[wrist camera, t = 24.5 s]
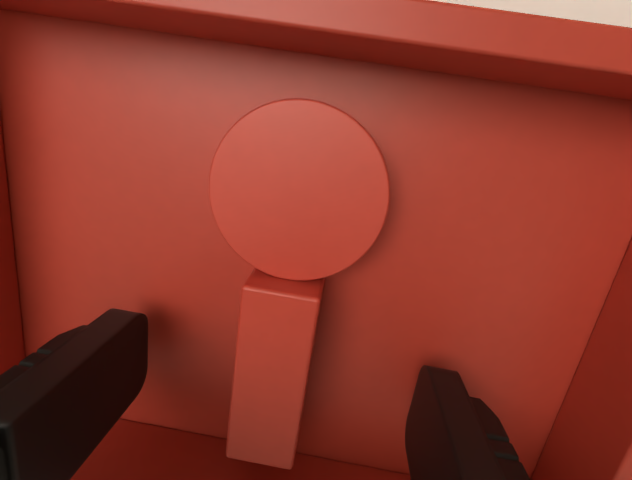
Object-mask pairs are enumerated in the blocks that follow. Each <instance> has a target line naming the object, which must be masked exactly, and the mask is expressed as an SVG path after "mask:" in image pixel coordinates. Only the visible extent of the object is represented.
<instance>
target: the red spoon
mask: <svg viewBox="0 0 632 480" xmlns="http://www.w3.org/2000/svg"><path fill="white" fill-rule="evenodd" d="M209 200H210V206H211V210H212V214H213V217H214V220H215V222H216V225H217V227H218V229H219V231H220V233H221V234H222V236H223V238H224V239H225V240H226V242H227V243H228V245H229V246H230V247H231V248H232V249H233V250H234V252H235V253H236V254H237V255H238V256H240V257H241V258H242V259H243V260H244V261H245V262H247V263H248V264H250V265H251V266H253V267H254V270H253V271H252V273H251V274H250V276H249V277H248V278H247V280H246V281H245V283H244V284H243V286H242V287H241V296H240V307H239V317H238V328H237V338H236V349H235V359H234V370H233V380H232V391H231V401H230V412H229V422H228V433H227V443H226V457H228V458H232V459H237V460H242V461H247V462H252V463H257V464H263V465H268V466H273V467H278V468H283V469H288V470H289V469H292V467H293V465H294V459H295V453H296V448H297V442H298V436H299V430H300V424H301V419H302V413H303V407H304V401H305V395H306V389H307V383H308V377H309V371H310V365H311V359H312V353H313V347H314V341H315V335H316V329H317V323H318V317H319V311H320V305H321V299H322V293H323V287H324V281H325V277H329V276H332V275H334V274H337V273H339V272H341V271H343V270H345V269H347V268H348V267H350V266H352V265H353V264H354V263H356V262H357V261H358V260H360V259H361V258H362V257H363V256H364V255H365V254H366V253H367V252H368V251H369V249H370V248H371V247H372V245H373V244H374V243H375V241H376V240H377V238H378V236H379V235H380V233H381V231H382V228H383V226H384V224H385V221H386V217H387V214H388V210H389V203H390V182H389V174H388V170H387V167H386V163H385V160H384V158H383V155H382V153H381V151H380V149H379V147H378V145H377V144H376V142H375V140H374V139H373V138H372V136H371V135H370V134H369V132H368V131H367V130H366V129H365V128H364V127H363V126H362V125H361V124H360V123H359V122H358V121H357V120H356V119H354V118H353V117H352V116H350V115H349V114H347V113H346V112H344V111H342V110H340V109H339V108H337V107H335V106H332V105H330V104H327V103H324V102H321V101H316V100H312V99H302V98H292V99H282V100H277V101H273V102H270V103H267V104H264V105H261V106H259V107H257V108H256V109H254V110H252V111H250V112H248V113H247V114H246V115H244V116H243V117H242V118H240V119H239V120H238V121H237V122H236V123H235V124H234V125H233V126H232V127H231V128H230V129H229V130H228V132H227V133H226V134H225V136H224V137H223V139H222V140H221V142H220V144H219V146H218V147H217V150H216V152H215V155H214V157H213V160H212V164H211V168H210V174H209Z"/></svg>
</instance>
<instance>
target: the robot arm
mask: <svg viewBox="0 0 632 480" xmlns="http://www.w3.org/2000/svg"><path fill="white" fill-rule="evenodd" d="M147 368H148V319H147V316H146V315H145V314H143V313H137V312H132V311H126V310H121V309H115V308H112V309H109V310H108V311H106V312H105V313H103V314H102V315H101V316H99V317H98V318H97V319H95V320H94V321H93V322H91V323H90V324H88V325H82V326H79V327H77V328H74V329H72V330H69V331H67V332H64V333H62V334H59V335H57V336H56V337H54V338H53V339H51V340H50V341H49V342H47V343H46V344H44V345H43V346H41V347H40V348H38V349H37V352H36V353H35V352H33V353H31V354H30V355H28V356H27V357H26V358H24V359H23V360H21V361H20V363H19V365H14V366H13V367H11V368H10V369H8V370H7V371H5V372H4V373H3V374H1V375H0V480H70V479H71V478H72V477H73V475H74V474H75V473H76V472H77V470H78V469H79V468H80V467H81V465H82V464H83V463H84V462H85V460H86V459H87V458H88V457H89V455H90V454H91V453H92V452H93V450H94V449H95V448H96V447H97V446H98V444H99V443H100V442H101V441H102V439H103V438H104V437H105V436H106V434H107V433H108V432H109V431H110V429H111V428H112V427H113V426H114V424H115V423H116V422H117V421H118V419H119V418H120V417H121V416H122V415H123V413H124V412H125V411H126V410H127V408H128V407H129V406H130V405H131V403H132V402H133V401H134V400H135V398H136V397H137V396H138V394H139V393H140V391H141V389H142V387H143V385H144V382H145V379H146V375H147ZM405 448H406V454H407V460H408V466H409V472H410V477H411V480H530V478H529V476H528V474H527V472H526V470H525V468H524V466H523V464H522V462H519V457H518V455H517V453H516V451H515V449H514V447H513V445H512V443H510V442H509V437H508V435H507V433H506V431H505V429H504V427H503V425H502V423H501V421H500V419H499V418H498V417H497V416H496V414H495V413H494V412H493V411H492V410H491V409H490V408H489V407H488V406H487V405H486V404H485V403H484V402H483V401H482V400H481V399H480V398H475V397H469V394H468V392H467V390H466V388H465V385H464V383H463V381H462V379H461V376H460V374H459V373H458V372H457V371H455V370H449V369H443V368H438V367H432V366H427V365H423V366H422V368H421V369H420V372H419V375H418V379H417V383H416V386H415V390H414V394H413V397H412V401H411V405H410V409H409V412H408V416H407V420H406V427H405Z"/></svg>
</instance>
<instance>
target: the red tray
mask: <svg viewBox="0 0 632 480" xmlns="http://www.w3.org/2000/svg"><path fill="white" fill-rule="evenodd" d="M292 98H302V99H312V100H316V101H321V102H324V103H327V104H330V105H332V106H335V107H337V108H339V109H340V110H342V111H344V112H346V113H347V114H349V115H350V116H352V117H353V118H354V119H356V120H357V121H358V122H359V123H360V124H361V125H362V126H363V127H364V128H365V129H366V130H367V131H368V132H369V134H370V135H371V136H372V138H373V139H374V140H375V142H376V144H377V145H378V147H379V149H380V151H381V153H382V155H383V158H384V160H385V163H386V167H387V170H388V174H389V182H390V203H389V210H388V214H387V217H386V221H385V224H384V226H383V228H382V231H381V233H380V235H379V236H378V238H377V240H376V241H375V243H374V244H373V245H372V247H371V248H370V249H369V251H368V252H367V253H366V254H365V255H364V256H363V257H362V258H361V259H360V260H358V261H357V262H356V263H354V264H353V265H352V266H350V267H348V268H347V269H345V270H343V271H341V272H339V273H337V274H334V275H332V276H329V277H325V281H324V287H323V293H322V299H321V305H320V311H319V317H318V323H317V329H316V335H315V341H314V347H313V353H312V359H311V365H310V371H309V377H308V383H307V389H306V395H305V401H304V407H303V413H302V419H301V424H300V430H299V436H298V442H297V448H296V453H295V459H294V465H293V467H292V469H289V470H288V469H283V468H278V467H273V466H268V465H263V464H257V463H252V462H247V461H242V460H237V459H232V458H228V457H226V443H227V433H228V422H229V412H230V401H231V391H232V380H233V370H234V359H235V349H236V338H237V328H238V317H239V307H240V296H241V287H242V286H243V284H244V283H245V281H246V280H247V278H248V277H249V276H250V274H251V273H252V271H253V270H254V267H253V266H251V265H250V264H248V263H247V262H245V261H244V260H243V259H242V258H241V257H240V256H238V255H237V254H236V253H235V252H234V250H233V249H232V248H231V247H230V246H229V245H228V243H227V242H226V240H225V239H224V238H223V236H222V234H221V233H220V231H219V229H218V227H217V225H216V222H215V220H214V217H213V214H212V210H211V206H210V200H209V174H210V168H211V164H212V160H213V157H214V155H215V152H216V150H217V147H218V146H219V144H220V142H221V140H222V139H223V137H224V136H225V134H226V133H227V132H228V130H229V129H230V128H231V127H232V126H233V125H234V124H235V123H236V122H237V121H238V120H239V119H240V118H242V117H243V116H244V115H246V114H247V113H248V112H250V111H252V110H254V109H256V108H257V107H259V106H261V105H264V104H267V103H270V102H273V101H277V100H282V99H292ZM112 308H115V309H121V310H126V311H132V312H137V313H143V314H145V315H146V316H147V319H148V368H147V375H146V379H145V382H144V385H143V387H142V389H141V391H140V393H139V394H138V396H137V397H136V398H135V400H134V401H133V402H132V403H131V405H130V406H129V407H128V408H127V410H126V411H125V412H124V413H123V415H122V416H121V417H120V418H119V419H118V421H117V422H116V423H115V424H114V426H113V427H112V428H111V429H110V431H109V432H108V433H107V434H106V436H105V437H104V438H103V439H102V441H101V442H100V443H99V444H98V446H97V447H96V448H95V449H94V450H93V452H92V453H91V454H90V455H89V457H88V458H87V459H86V460H85V462H84V463H83V464H82V465H81V467H80V468H79V469H78V470H77V472H76V473H75V474H74V475H73V477H72V478H71V479H70V480H411V477H410V472H409V466H408V460H407V454H406V448H405V427H406V420H407V416H408V412H409V409H410V405H411V401H412V397H413V394H414V390H415V386H416V383H417V379H418V375H419V372H420V369H421V368H422V366H423V365H427V366H432V367H438V368H443V369H449V370H455V371H457V372H458V373H459V374H460V376H461V379H462V381H463V383H464V385H465V388H466V390H467V392H468V394H469V397H475V398H480V399H481V400H482V401H483V402H484V403H485V404H486V405H487V406H488V407H489V408H490V409H491V410H492V411H493V412H494V413H495V414H496V416H497V417H498V418H499V419H500V421H501V423H502V425H503V427H504V429H505V431H506V433H507V435H508V437H509V442H510V443H512V445H513V447H514V449H515V451H516V453H517V455H518V457H519V462H522V464H523V466H524V468H525V470H526V472H527V474H528V476H529V478H530V480H632V28H629V27H621V26H614V25H606V24H599V23H592V22H584V21H577V20H570V19H562V18H555V17H548V16H540V15H533V14H525V13H518V12H511V11H503V10H496V9H489V8H481V7H474V6H467V5H459V4H452V3H444V2H437V1H430V0H0V375H1V374H3V373H4V372H5V371H7V370H8V369H10V368H11V367H13V366H14V365H19V363H20V361H21V360H23V359H24V358H26V357H27V356H28V355H30V354H31V353H33V352H35V353H36V352H37V349H38V348H40V347H41V346H43V345H44V344H46V343H47V342H49V341H50V340H51V339H53V338H54V337H56V336H57V335H59V334H62V333H64V332H67V331H69V330H72V329H74V328H77V327H79V326H82V325H88V324H90V323H91V322H93V321H94V320H95V319H97V318H98V317H99V316H101V315H102V314H103V313H105V312H106V311H108V310H109V309H112Z"/></svg>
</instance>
